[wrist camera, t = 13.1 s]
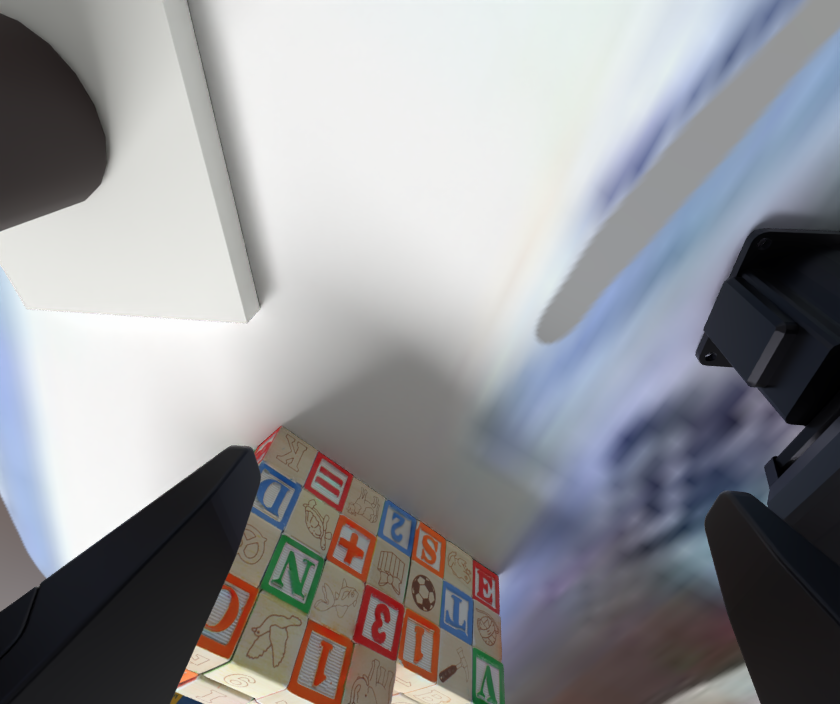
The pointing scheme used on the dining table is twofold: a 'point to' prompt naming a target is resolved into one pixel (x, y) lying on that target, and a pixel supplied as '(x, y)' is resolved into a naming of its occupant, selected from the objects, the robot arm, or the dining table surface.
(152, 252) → the white flat block
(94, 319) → the dining table surface
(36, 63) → the vinegar
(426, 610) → the stack of blocks
